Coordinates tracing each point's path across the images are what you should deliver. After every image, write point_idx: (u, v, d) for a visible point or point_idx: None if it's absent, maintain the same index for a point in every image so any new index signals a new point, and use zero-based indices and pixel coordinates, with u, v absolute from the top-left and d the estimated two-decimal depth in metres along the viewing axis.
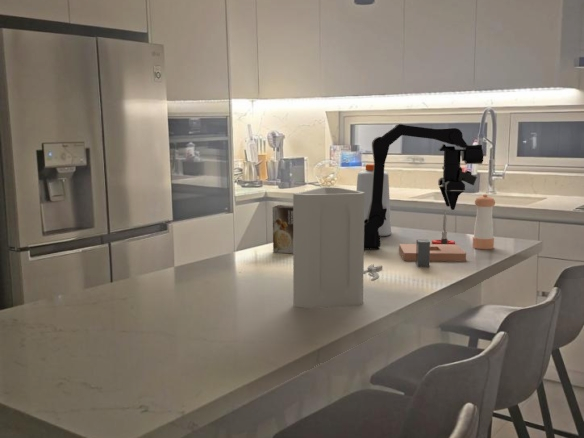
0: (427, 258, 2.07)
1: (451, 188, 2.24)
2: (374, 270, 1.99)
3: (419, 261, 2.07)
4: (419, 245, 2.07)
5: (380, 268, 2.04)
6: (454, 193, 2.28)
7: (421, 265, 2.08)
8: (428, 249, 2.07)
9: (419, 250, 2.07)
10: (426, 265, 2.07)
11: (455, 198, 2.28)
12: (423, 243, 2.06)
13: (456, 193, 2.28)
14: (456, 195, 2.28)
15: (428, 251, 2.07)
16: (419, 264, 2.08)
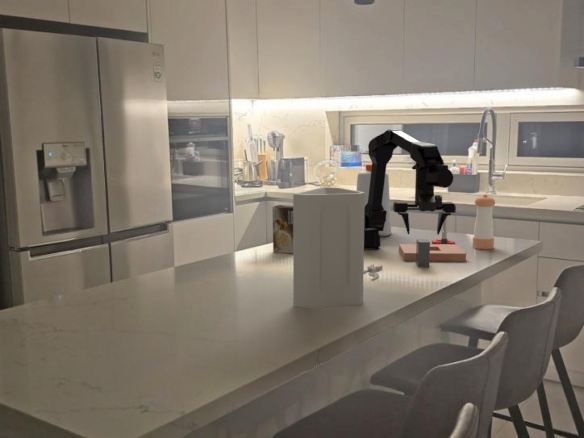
0: (427, 258, 2.07)
1: (393, 208, 2.09)
2: (374, 270, 1.99)
3: (419, 261, 2.07)
4: (419, 245, 2.07)
5: (380, 268, 2.04)
6: None
7: (421, 265, 2.08)
8: (428, 249, 2.07)
9: (419, 250, 2.07)
10: (426, 265, 2.07)
11: None
12: (423, 243, 2.06)
13: None
14: None
15: (428, 251, 2.07)
16: (419, 264, 2.08)
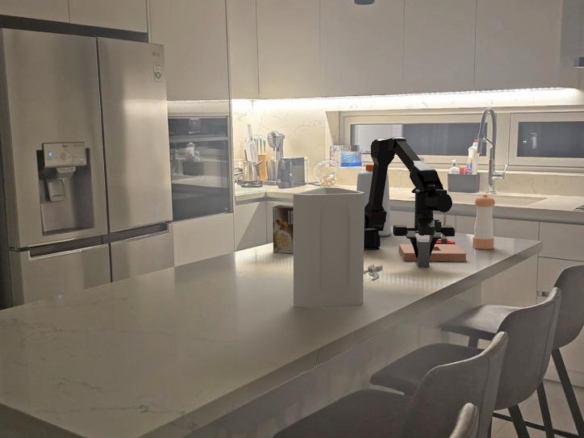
0: (427, 258, 2.07)
1: None
2: (374, 270, 2.00)
3: (419, 261, 2.07)
4: (419, 245, 2.07)
5: (380, 268, 2.04)
6: None
7: (421, 265, 2.08)
8: (428, 249, 2.07)
9: (419, 250, 2.07)
10: (426, 265, 2.07)
11: (413, 244, 2.09)
12: (423, 243, 2.06)
13: None
14: None
15: (428, 251, 2.07)
16: (419, 264, 2.08)
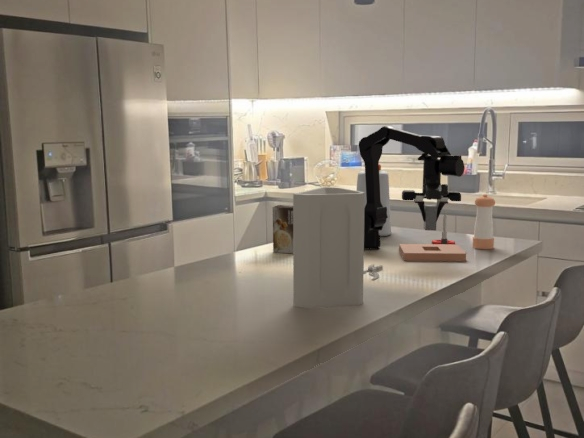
0: (434, 222, 2.17)
1: None
2: (374, 270, 2.00)
3: (426, 224, 2.17)
4: (427, 209, 2.17)
5: (380, 268, 2.04)
6: None
7: (428, 228, 2.18)
8: (435, 213, 2.17)
9: (426, 214, 2.17)
10: (433, 228, 2.18)
11: None
12: (430, 207, 2.17)
13: None
14: None
15: (435, 215, 2.17)
16: (426, 227, 2.18)
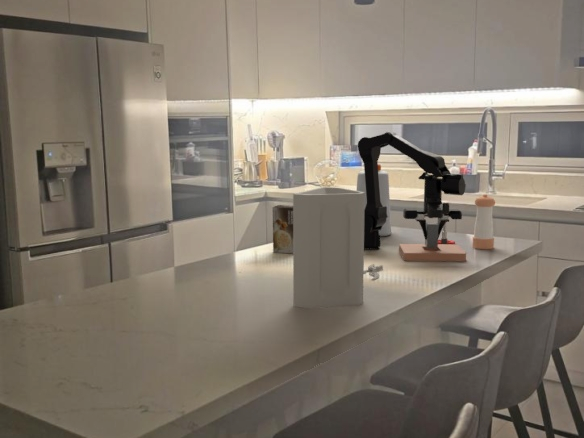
0: (435, 239, 2.21)
1: (403, 215, 2.25)
2: (374, 270, 2.00)
3: (428, 242, 2.21)
4: (428, 227, 2.21)
5: (380, 268, 2.04)
6: None
7: (430, 246, 2.22)
8: (436, 231, 2.21)
9: (428, 232, 2.21)
10: (435, 246, 2.22)
11: (422, 227, 2.23)
12: (432, 225, 2.21)
13: None
14: None
15: (436, 233, 2.21)
16: (428, 245, 2.22)
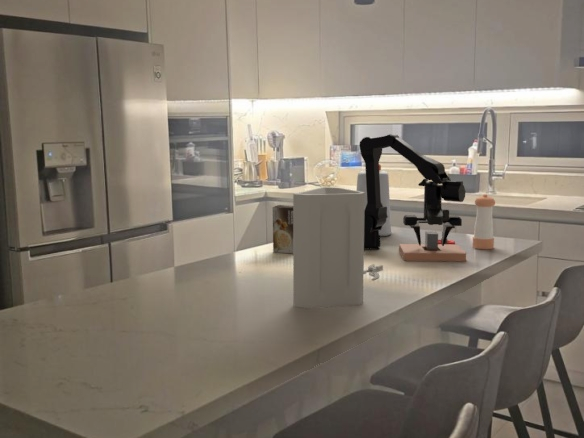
0: (435, 249, 2.22)
1: (403, 221, 2.25)
2: (375, 270, 2.00)
3: None
4: (428, 237, 2.21)
5: (381, 268, 2.04)
6: None
7: None
8: (436, 240, 2.21)
9: (428, 241, 2.21)
10: None
11: None
12: (432, 235, 2.21)
13: None
14: None
15: (436, 242, 2.21)
16: None
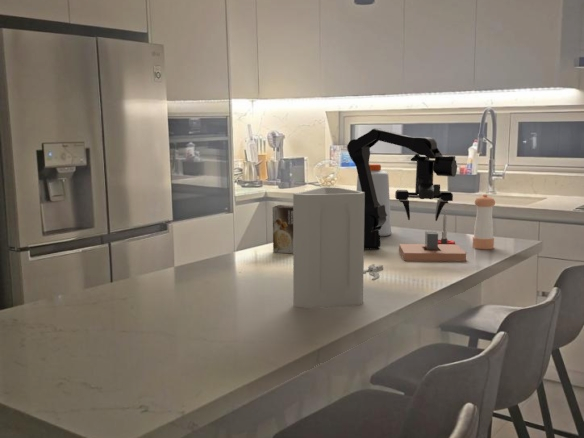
0: (435, 249, 2.22)
1: (395, 196, 2.27)
2: (375, 270, 2.00)
3: None
4: (428, 237, 2.21)
5: (381, 268, 2.04)
6: None
7: None
8: (436, 240, 2.21)
9: (428, 241, 2.21)
10: None
11: None
12: (432, 235, 2.21)
13: None
14: None
15: (436, 242, 2.21)
16: None
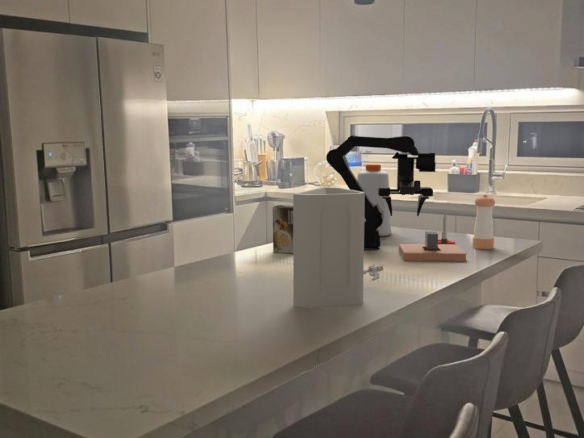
0: (435, 249, 2.22)
1: None
2: (375, 270, 2.00)
3: None
4: (428, 237, 2.21)
5: (381, 268, 2.04)
6: None
7: None
8: (436, 240, 2.21)
9: (428, 241, 2.21)
10: None
11: None
12: (432, 235, 2.21)
13: None
14: None
15: (436, 242, 2.21)
16: None
